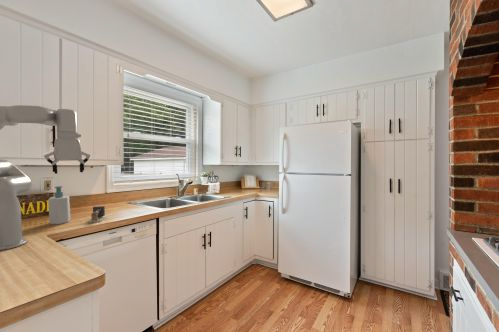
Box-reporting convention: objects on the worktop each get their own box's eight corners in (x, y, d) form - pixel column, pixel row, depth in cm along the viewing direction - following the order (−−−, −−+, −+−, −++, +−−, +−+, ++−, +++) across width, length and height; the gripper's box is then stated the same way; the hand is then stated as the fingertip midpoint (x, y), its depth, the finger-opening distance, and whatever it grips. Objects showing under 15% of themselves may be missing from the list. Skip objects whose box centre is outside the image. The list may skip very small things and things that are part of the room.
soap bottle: (67, 219, 153) (66, 185, 152) (73, 221, 148) (71, 186, 146) (47, 223, 145) (45, 186, 143) (52, 225, 139) (50, 188, 138)
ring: (93, 216, 151) (92, 207, 151) (94, 215, 153) (94, 206, 153) (103, 215, 153) (103, 206, 152) (104, 215, 155) (104, 206, 154)
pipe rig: (87, 222, 145) (87, 212, 145) (94, 218, 155) (94, 208, 154) (100, 221, 147) (100, 212, 146) (106, 217, 156) (106, 208, 156)
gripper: (87, 137, 120) (88, 171, 121) (42, 135, 108) (44, 173, 109) (91, 136, 115) (92, 172, 116) (43, 135, 103) (45, 174, 103)
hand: (69, 172), depth 112 cm, fingers open, 9 cm apart
